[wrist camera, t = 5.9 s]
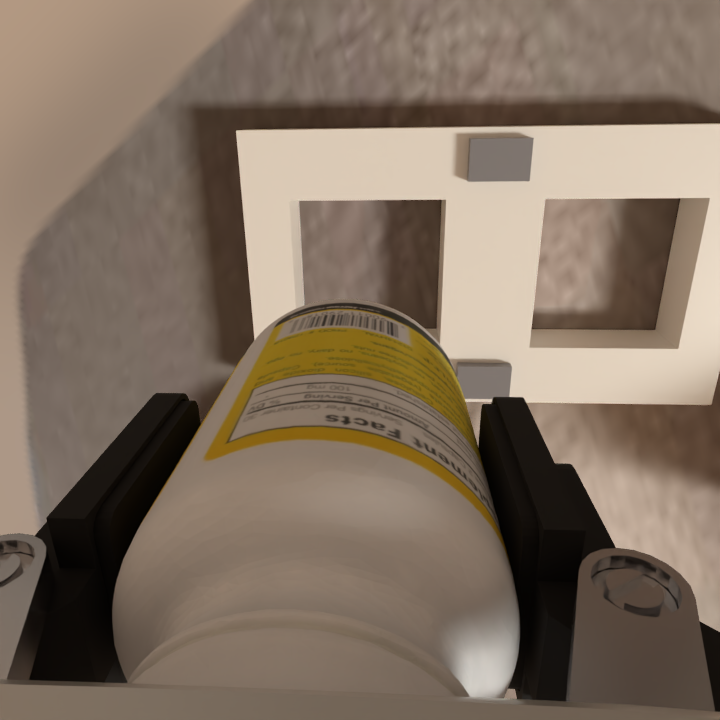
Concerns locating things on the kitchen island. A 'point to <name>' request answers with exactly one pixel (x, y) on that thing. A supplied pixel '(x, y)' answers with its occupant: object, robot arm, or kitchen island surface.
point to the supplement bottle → (326, 526)
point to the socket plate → (509, 244)
